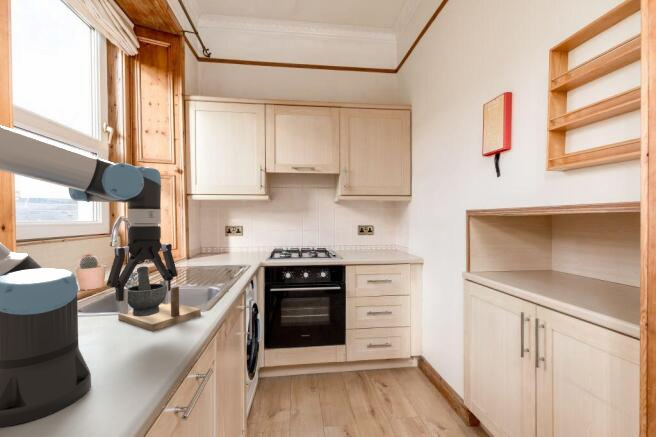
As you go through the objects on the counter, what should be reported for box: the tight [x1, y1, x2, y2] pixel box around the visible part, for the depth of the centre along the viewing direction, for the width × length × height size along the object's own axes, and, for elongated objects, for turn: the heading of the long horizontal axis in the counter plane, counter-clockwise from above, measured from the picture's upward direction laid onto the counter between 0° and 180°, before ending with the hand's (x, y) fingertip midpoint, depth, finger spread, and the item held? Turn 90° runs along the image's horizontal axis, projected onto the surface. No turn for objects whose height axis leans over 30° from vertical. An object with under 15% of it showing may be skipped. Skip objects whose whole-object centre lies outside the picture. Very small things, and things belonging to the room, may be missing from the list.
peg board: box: [117, 285, 202, 332], centre depth 101 cm, size 16×20×11 cm
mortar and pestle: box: [127, 265, 167, 317], centre depth 83 cm, size 11×9×12 cm
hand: (144, 308), depth 83 cm, fingers closed on mortar and pestle, 10 cm apart
